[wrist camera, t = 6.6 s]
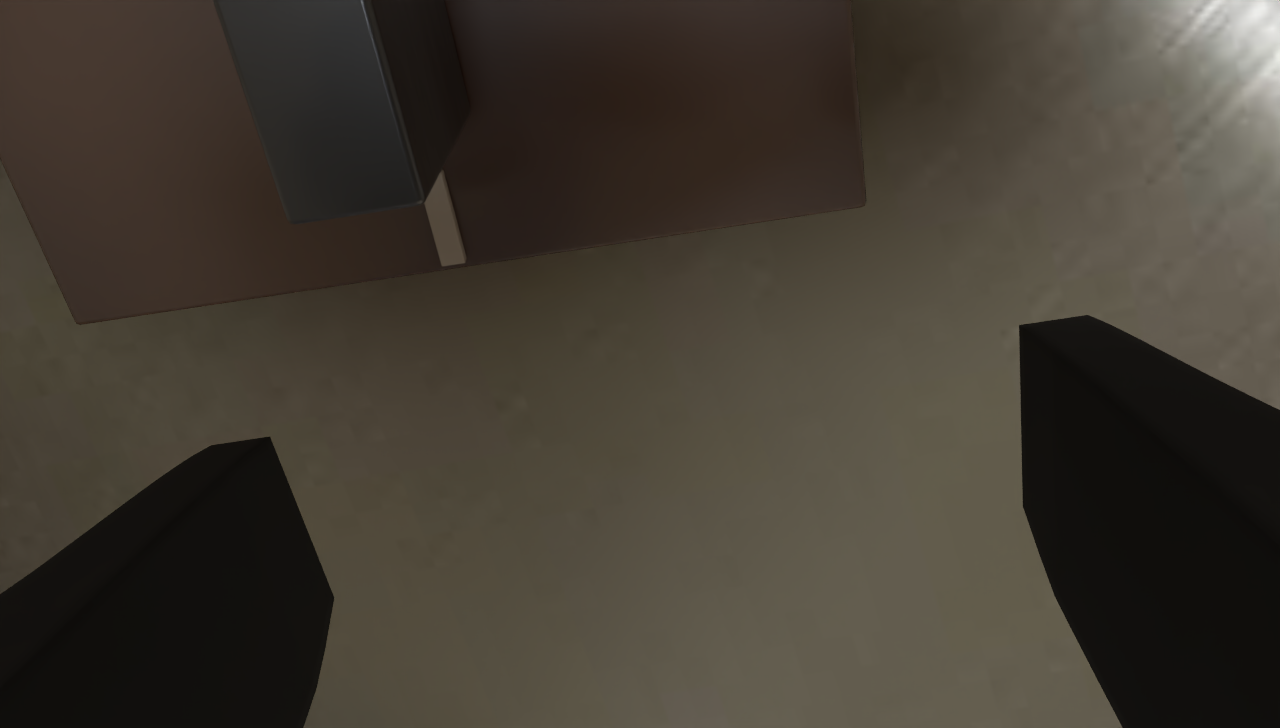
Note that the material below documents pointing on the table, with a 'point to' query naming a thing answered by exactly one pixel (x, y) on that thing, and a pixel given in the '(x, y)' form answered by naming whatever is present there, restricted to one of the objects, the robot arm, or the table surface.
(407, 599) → the table surface
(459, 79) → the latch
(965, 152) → the table surface
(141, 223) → the plate
